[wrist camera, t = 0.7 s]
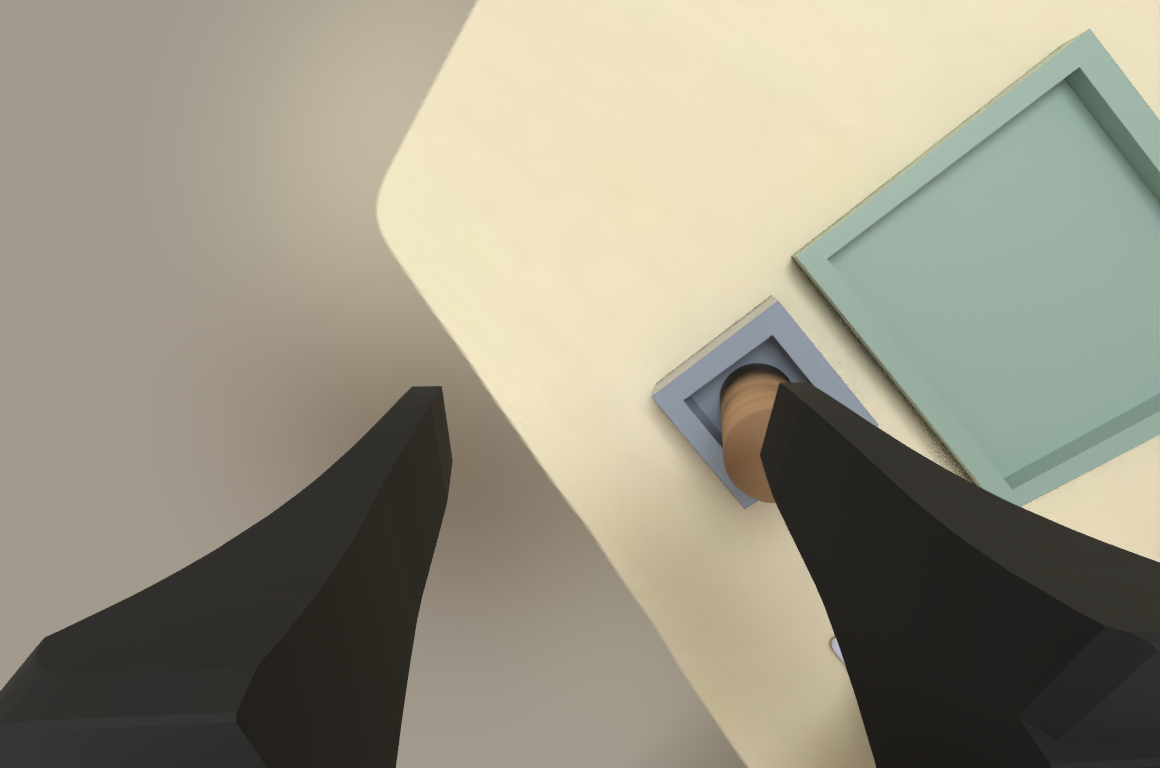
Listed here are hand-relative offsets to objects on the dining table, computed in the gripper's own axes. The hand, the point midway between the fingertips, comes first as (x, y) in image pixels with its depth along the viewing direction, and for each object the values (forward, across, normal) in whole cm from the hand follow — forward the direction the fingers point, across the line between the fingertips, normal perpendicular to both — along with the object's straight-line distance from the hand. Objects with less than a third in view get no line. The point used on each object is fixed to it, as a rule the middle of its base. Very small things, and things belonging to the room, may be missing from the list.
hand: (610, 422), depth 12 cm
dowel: (+15, -10, +10) cm, 21 cm away
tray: (+14, -22, +4) cm, 26 cm away
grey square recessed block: (+15, -10, +10) cm, 21 cm away
